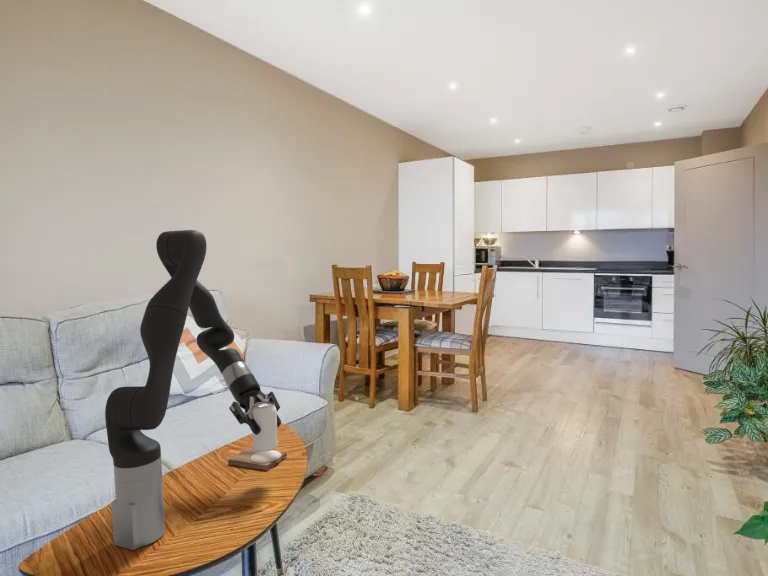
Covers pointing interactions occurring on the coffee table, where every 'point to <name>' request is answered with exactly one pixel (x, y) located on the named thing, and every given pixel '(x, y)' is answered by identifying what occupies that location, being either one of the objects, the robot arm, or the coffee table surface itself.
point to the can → (265, 426)
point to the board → (257, 458)
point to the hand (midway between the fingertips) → (269, 429)
